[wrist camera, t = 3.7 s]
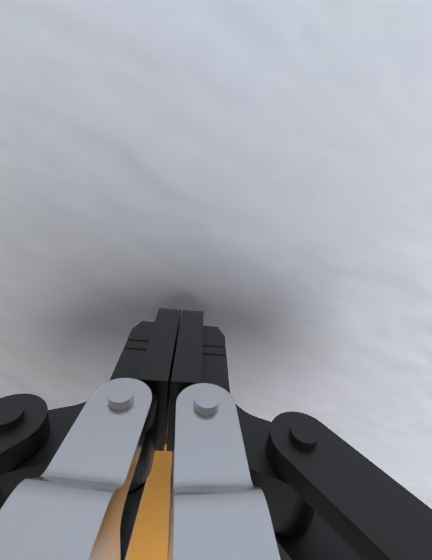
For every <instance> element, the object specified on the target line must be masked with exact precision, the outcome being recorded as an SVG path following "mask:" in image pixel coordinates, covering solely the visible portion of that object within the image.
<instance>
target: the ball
mask: <svg viewBox="0 0 432 560" xmlns="http://www.w3.org/2000/svg"><path fill="white" fill-rule="evenodd" d="M166 450H167V444H165V447H164V451H155V454H154V459H153V465H152V469H151V472H150V474H149V483H148V487H147V491H146V495H145V499H144V503H143V507H142V511H141V514H140V518H139V522H138V526H137V530H136V534H135V538H134V542H133V545H132V549H131V553H130V557H129V560H167V546H168V521H169V497H170V478H171V465H172V451H166Z"/></svg>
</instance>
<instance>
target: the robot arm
mask: <svg viewBox="0 0 432 560" xmlns="http://www.w3.org/2000/svg"><path fill="white" fill-rule="evenodd" d="M180 320H181V323H180ZM167 427H168V434H167V450H166V451H172V465H171V478H170V497H169V521H168V546H167V560H432V509H431V508H429V507H428V506H427V505H425V504H424V503H423V502H422V501H420V500H419V499H418V498H416V497H415V496H414V495H413V494H411V493H410V492H409V491H408V490H406V489H405V488H404V487H402V486H401V485H400V484H399V483H397V482H396V481H395V480H394V479H392V478H391V477H390V476H388V475H387V474H386V473H385V472H383V471H382V470H381V469H379V468H378V467H377V466H376V465H374V464H373V463H372V462H371V461H369V460H368V459H367V458H365V457H364V456H363V455H362V454H360V453H359V452H358V451H357V450H355V449H354V448H353V447H351V446H350V445H349V444H348V443H346V442H345V441H344V440H342V439H341V438H340V437H339V436H337V435H336V434H335V433H334V432H332V431H331V430H330V429H328V428H327V427H326V426H325V425H323V424H322V423H321V422H319V421H318V420H317V419H315V418H313V417H311V416H309V415H307V414H303V413H300V412H285V413H282V414H280V415H278V416H277V417H275V418H274V420H273V421H272V422H269V421H266V420H263V419H260V418H257V417H255V416H252V415H250V414H248V413H246V412H245V411H243V410H242V409H241V408H239V407H238V406H237V405H236V403H235V401H234V399H233V397H232V396H231V395H230V390H229V380H228V369H227V358H226V348H225V336H224V335H223V334H222V332H221V331H220V330H219V328H218V327H210V326H203V312H202V311H190V310H183V311H182V317H181V310H177V309H165V308H160V309H159V311H158V314H157V318H156V321H155V322H147V321H142V322H141V323H139V324H138V325H137V326H135V327H134V328H133V329H132V331H131V333H130V335H129V338H128V341H127V342H126V345H125V347H124V349H123V351H122V354H121V356H120V358H119V361H118V363H117V365H116V367H115V370H114V372H113V374H112V377H111V379H110V381H108V382H105V383H104V384H102V385H100V386H99V387H98V388H96V389H95V390H94V391H93V393H92V394H91V396H90V397H89V399H88V401H86V402H84V403H81V404H78V405H74V406H69V407H64V408H58V409H53V410H48V409H47V405H46V403H45V401H44V400H43V399H42V398H40V397H38V396H36V395H32V394H16V395H11V396H6V397H3V398H0V560H129V557H130V553H131V549H132V545H133V542H134V538H135V534H136V530H137V526H138V522H139V518H140V514H141V511H142V507H143V503H144V499H145V495H146V491H147V487H148V483H149V474H150V472H151V469H152V465H153V459H154V454H155V451H164V447H165V440H166V433H167Z"/></svg>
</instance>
